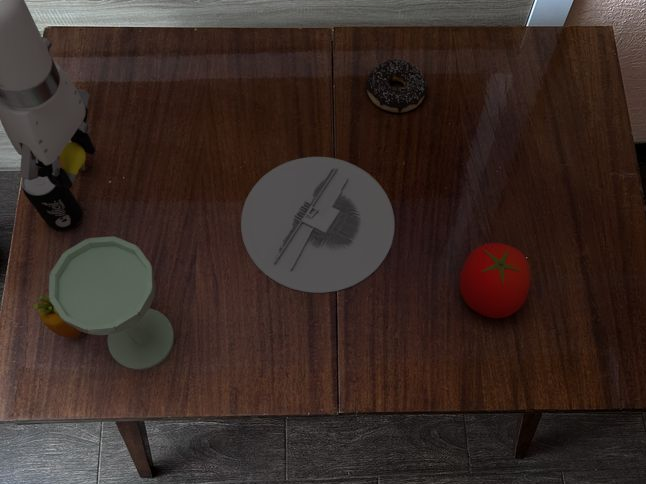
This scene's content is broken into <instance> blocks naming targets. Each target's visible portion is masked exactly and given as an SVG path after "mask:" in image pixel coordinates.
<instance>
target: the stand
mask: <svg viewBox="0 0 646 484" xmlns="http://www.w3.org/2000/svg"><path fill="white" fill-rule="evenodd" d="M174 343H175V331H174V328H173V324H172V323H171V322H170V320H169V319H168V317H167V316H166V315H165V314H163V313H162V312H161V311H160V310H159V311H158V310H157V309H154V308H149V309H148V311H147V312H146V314H145V315H144V316H143V317H142V318H141V319H140V320H139V321H138V322H137V323H135V324H134V325H132V326H131V327H129V328H127V329H125V330H123V331H120V332H117V333H114V334H108V335H107V348H108V352H109V353H110V355H111V356H112V358H113V360H115V362H117V363H118V364H119V365H120V366H122V367H124V368H126V369H129V370H133V371H144V370H145V371H146V370H149V369H152V368H155V367H156V366H158V365H160V364H161V363H163V362H164V361H165V360H166V359H167V358H168V357H169V355H170V353H171V352H172V350H173V347H174V345H175V344H174Z"/></svg>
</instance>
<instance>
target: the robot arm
mask: <svg viewBox="0 0 646 484" xmlns="http://www.w3.org/2000/svg"><path fill="white" fill-rule="evenodd" d="M52 46H53V43H52V42H51V41H50V40H49V39H48V38H47V37H44V36H42V34H41V32H40V30H39V28H38V26H37V23H36V22H35V19H34V17H33V15H32V13H31V12H30V9H29V7H28V5H27V3H26V1H25V0H0V123H1V125H2V127H3V130H4V132H5V134H6V136H7V138H8V140H9V142H10V143H11V145H12V147H13V149H14V150H15V151H16V153H17V154H18V155H20V168H19V170H20V171H19V176H20V177H21V178H22V177H23V178H25V179H28V180H33V179H36V178H38V177H46V176H47V177H48V179H49V180H50V182H51V183H52V184H54V185H55V186H58V187H61V185H62V186H64V187H67V188H69V189H70V190H71V189H72V187H73V185H74V184H72V182H71V180H70V179H69V177H68V175H67V173H66V172H65V170H64V169H63V168H62V167H60V164H59V157H60V154H61V152H62V151H63V149H64V148H65V147H66V145H67V144H68V142H69V141H70V140H71V142H75V143H78V144H79V145H81V146H82V147H83V149H84V151H85V154H86V153H87V154H89V155H95V153H96V149H95V146H94V145H93V142H92V139H91V137H90V135H89V131H90V126H89V124H88V123H87V120H88V113H89V109H88V108H87V107H88V106H89V99H90V92H89V91H88V90H85V89H82V88H77V87H76V86H75V84H74V82H73V81H72V79H71V77H69V75H68V74H67V73H66V71H65V70H64V69H63V68H62V67H61V66H60V65H59V64H58V63H57V61H54V60H53V57H52V55H51V53H50V50H51V49H50V48H52Z"/></svg>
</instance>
